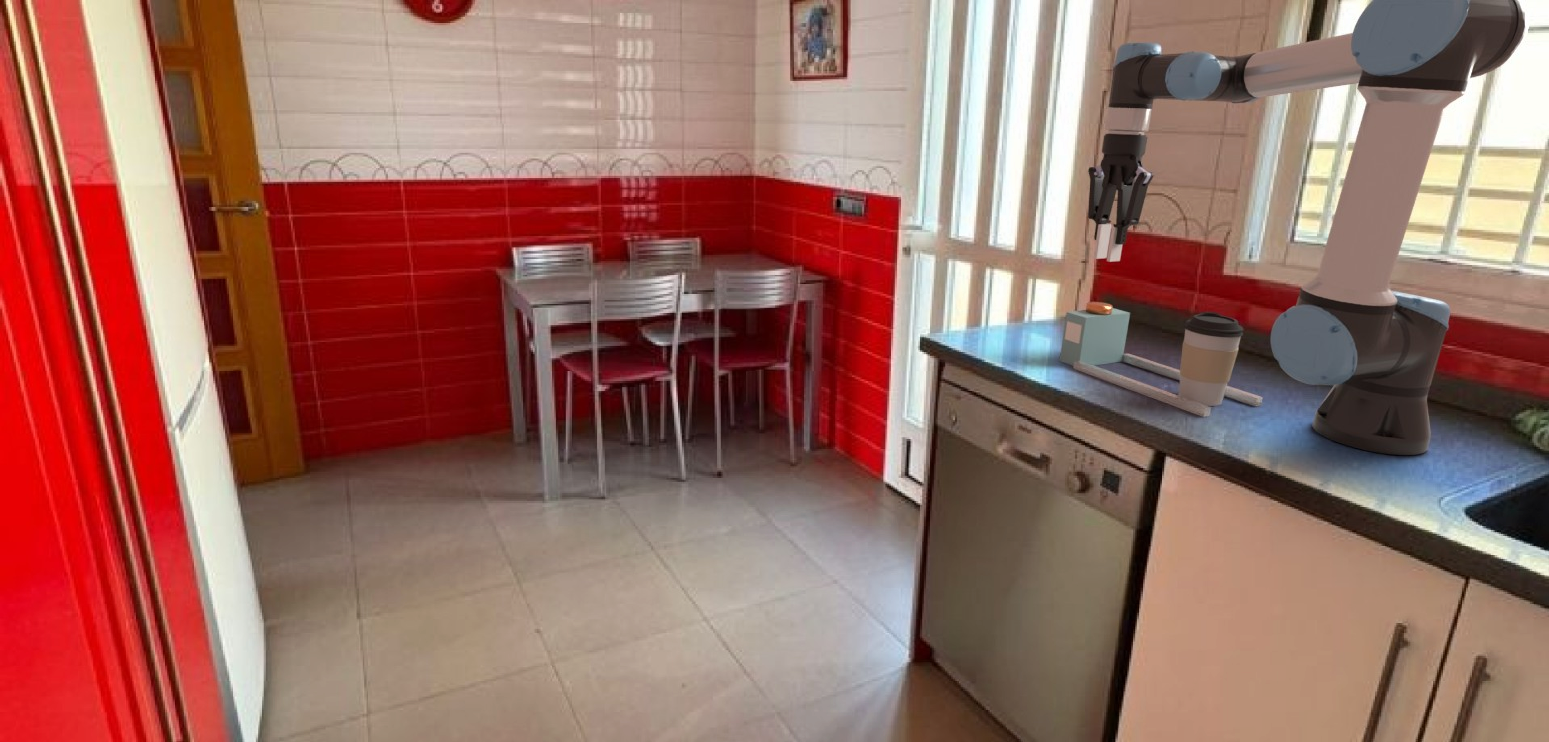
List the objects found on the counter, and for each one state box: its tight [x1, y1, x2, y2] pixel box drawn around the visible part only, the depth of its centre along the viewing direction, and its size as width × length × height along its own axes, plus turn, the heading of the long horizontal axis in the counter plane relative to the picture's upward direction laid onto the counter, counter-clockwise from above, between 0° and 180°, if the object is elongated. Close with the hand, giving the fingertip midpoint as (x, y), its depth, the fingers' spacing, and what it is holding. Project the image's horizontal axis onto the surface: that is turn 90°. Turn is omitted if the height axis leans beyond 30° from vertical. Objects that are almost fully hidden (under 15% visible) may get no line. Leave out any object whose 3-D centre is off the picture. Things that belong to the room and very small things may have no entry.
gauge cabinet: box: [1059, 307, 1131, 366], centre depth 167 cm, size 5×12×10 cm, turn 117°
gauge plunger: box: [1085, 301, 1114, 315], centre depth 166 cm, size 5×5×6 cm
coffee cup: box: [1177, 311, 1244, 407], centre depth 145 cm, size 9×9×15 cm
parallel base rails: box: [1072, 352, 1264, 418], centre depth 154 cm, size 28×15×2 cm, turn 27°
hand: (1106, 259), depth 162 cm, fingers open, 3 cm apart
